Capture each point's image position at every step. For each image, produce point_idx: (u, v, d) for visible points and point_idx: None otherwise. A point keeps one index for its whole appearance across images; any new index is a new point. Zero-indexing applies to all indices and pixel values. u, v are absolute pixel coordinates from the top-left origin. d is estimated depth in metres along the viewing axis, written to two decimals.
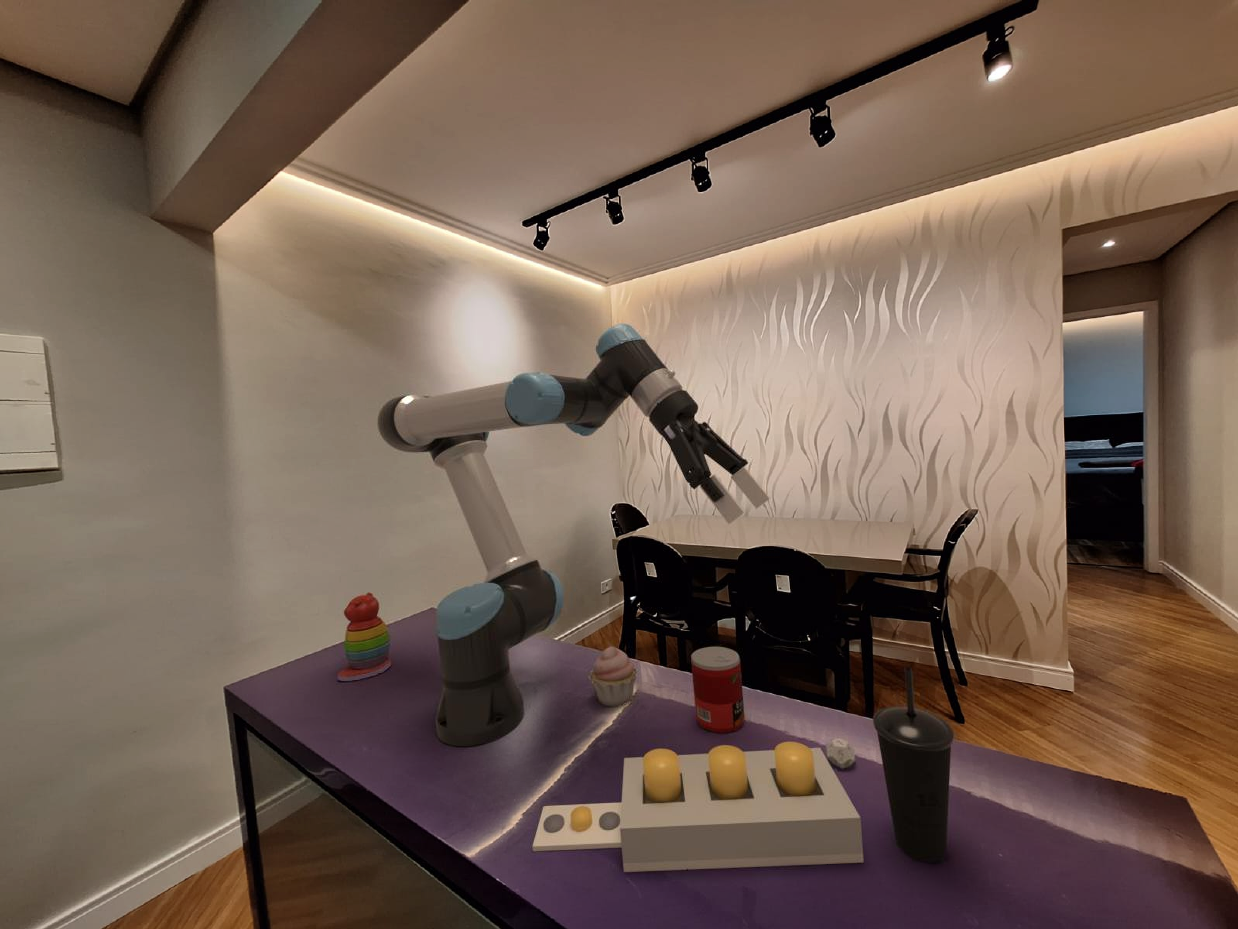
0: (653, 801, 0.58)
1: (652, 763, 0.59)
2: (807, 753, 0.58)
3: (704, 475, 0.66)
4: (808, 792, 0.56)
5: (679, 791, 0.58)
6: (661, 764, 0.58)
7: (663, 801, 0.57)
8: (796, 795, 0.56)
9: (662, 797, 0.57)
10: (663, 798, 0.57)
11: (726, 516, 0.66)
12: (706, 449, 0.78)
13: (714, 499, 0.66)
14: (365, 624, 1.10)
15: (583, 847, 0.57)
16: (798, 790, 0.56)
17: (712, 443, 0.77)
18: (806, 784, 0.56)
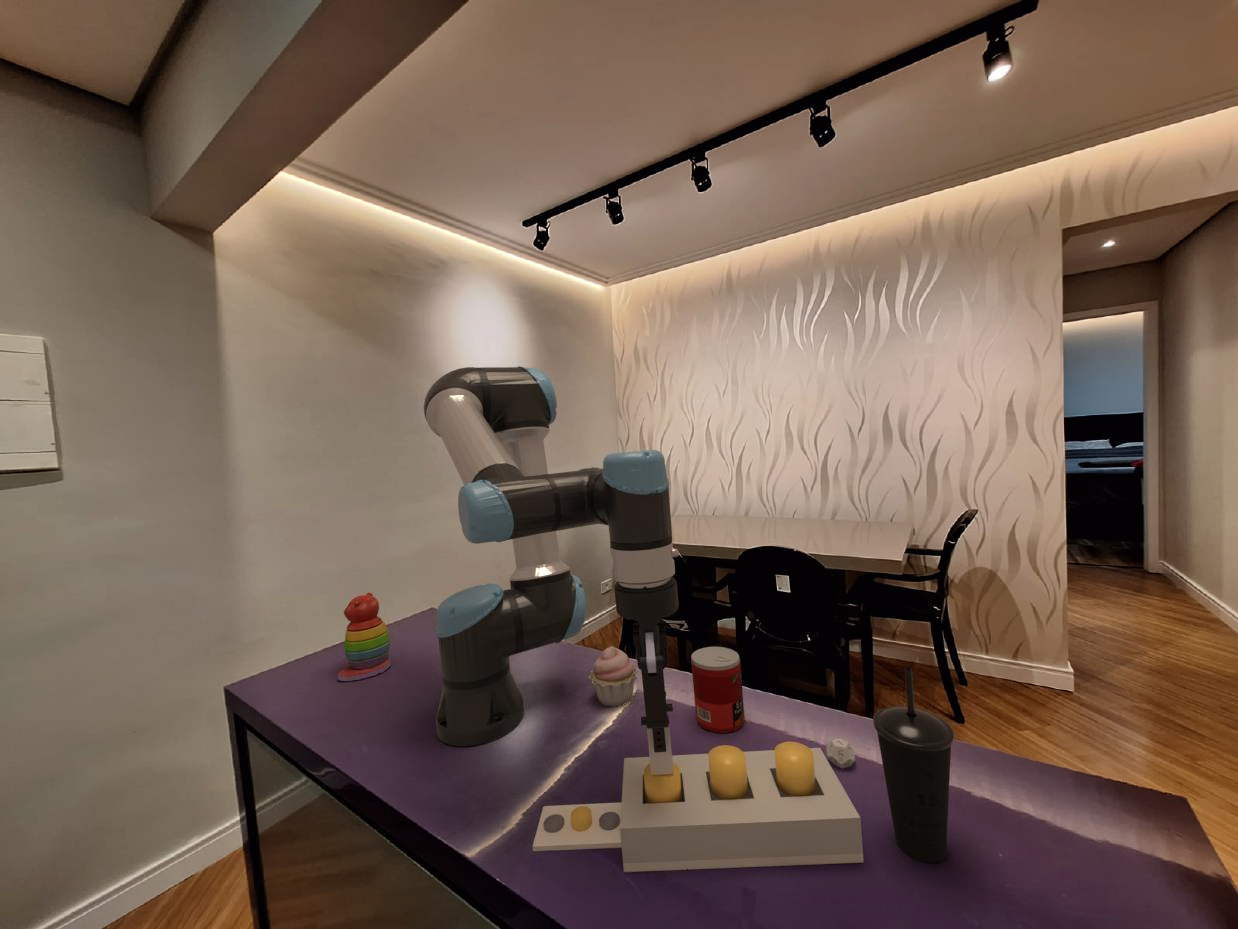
0: None
1: (653, 775, 0.59)
2: (807, 753, 0.58)
3: None
4: (808, 792, 0.56)
5: None
6: (662, 775, 0.59)
7: None
8: (796, 795, 0.56)
9: None
10: None
11: (653, 767, 0.58)
12: None
13: (656, 750, 0.57)
14: (365, 624, 1.10)
15: (583, 847, 0.57)
16: (798, 790, 0.56)
17: None
18: (806, 784, 0.56)
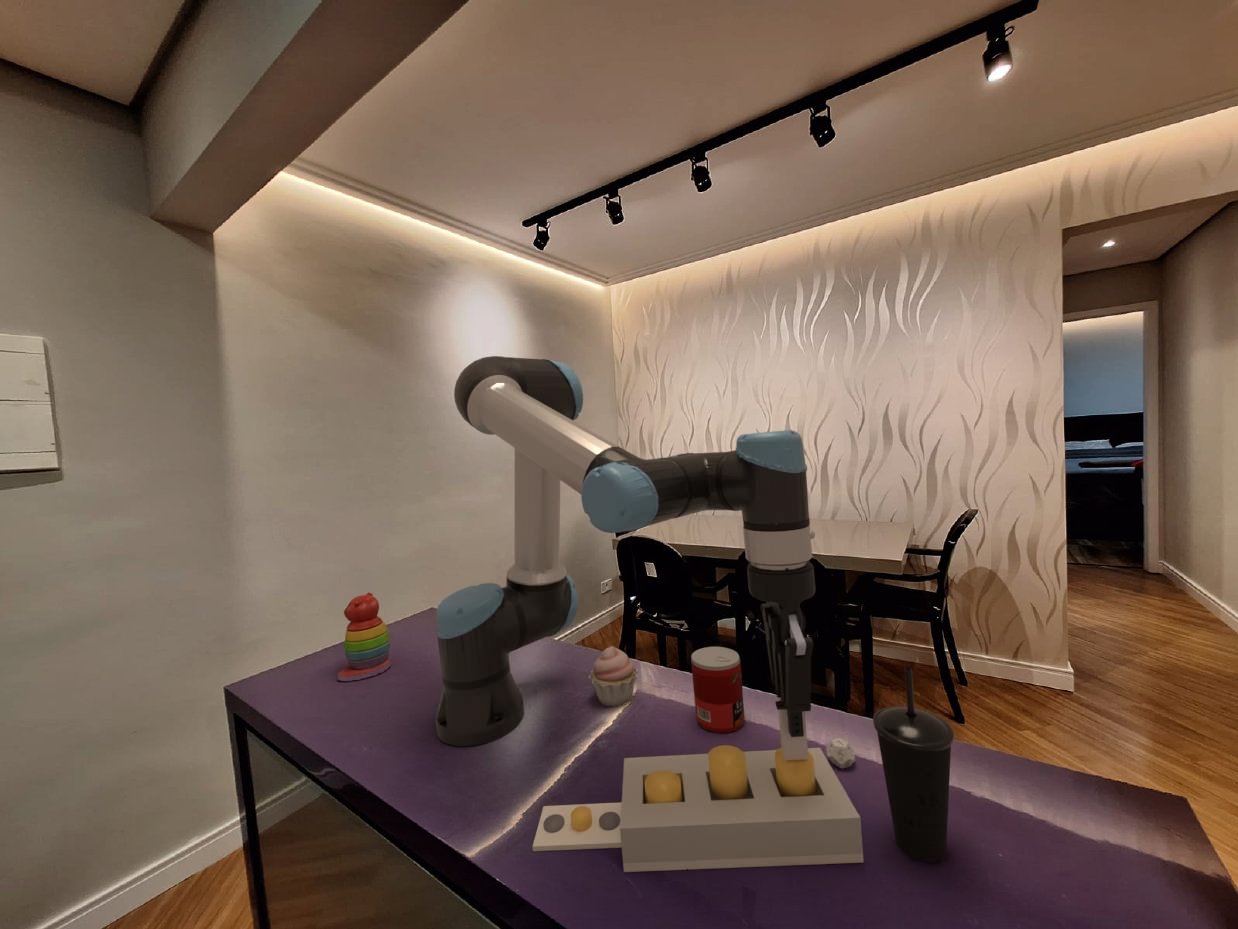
0: None
1: (654, 786, 0.59)
2: None
3: None
4: None
5: None
6: (663, 786, 0.59)
7: None
8: None
9: None
10: None
11: (788, 752, 0.57)
12: None
13: (794, 735, 0.56)
14: (365, 624, 1.10)
15: (583, 847, 0.57)
16: (799, 795, 0.56)
17: None
18: (806, 789, 0.56)
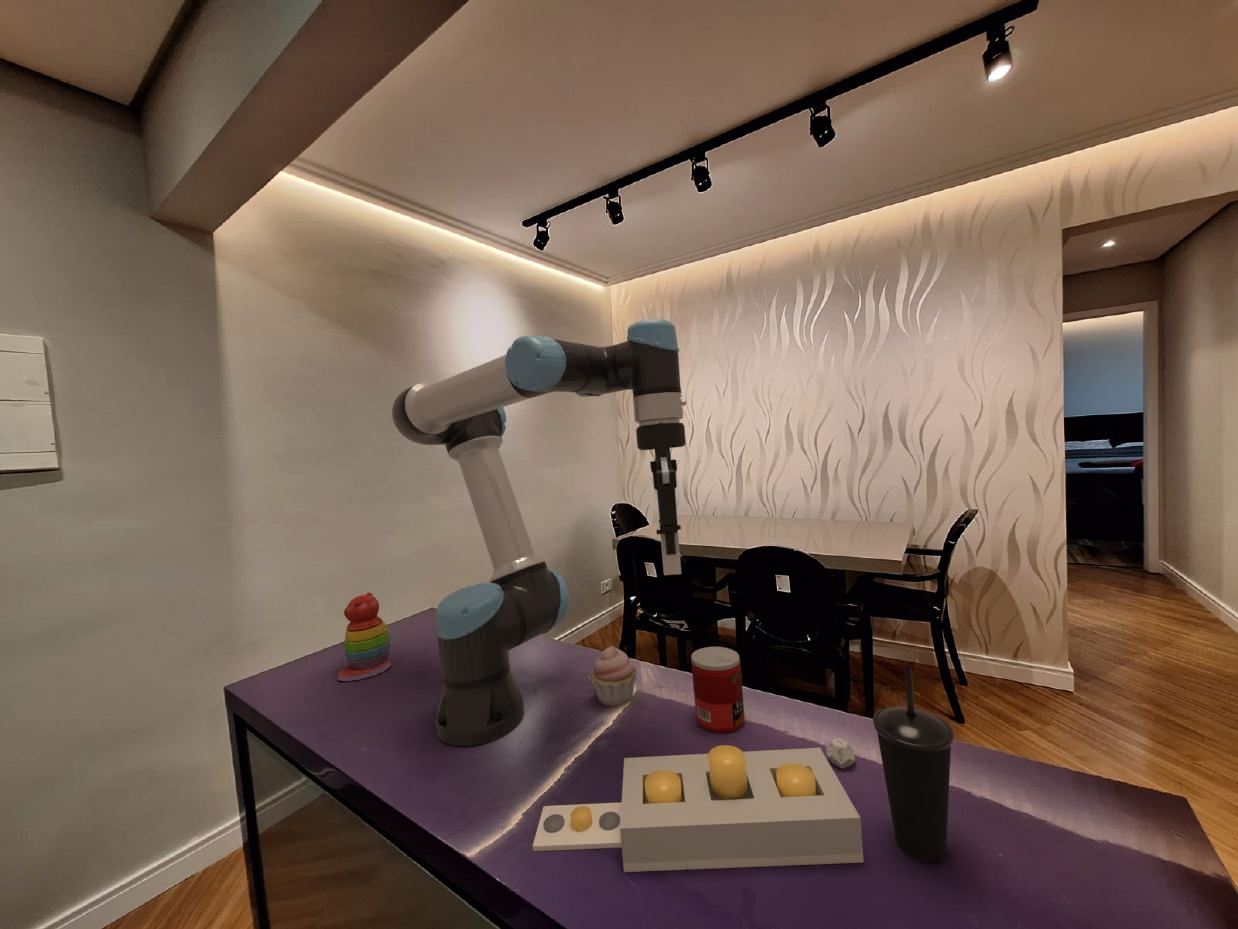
0: None
1: (654, 786, 0.59)
2: (809, 775, 0.58)
3: (674, 531, 0.74)
4: None
5: None
6: (663, 786, 0.59)
7: None
8: None
9: None
10: None
11: (666, 568, 0.75)
12: None
13: (668, 553, 0.74)
14: (365, 624, 1.10)
15: (583, 847, 0.57)
16: None
17: None
18: None
